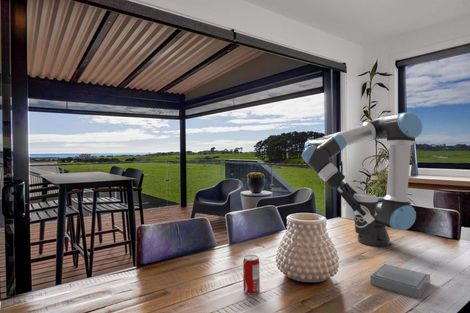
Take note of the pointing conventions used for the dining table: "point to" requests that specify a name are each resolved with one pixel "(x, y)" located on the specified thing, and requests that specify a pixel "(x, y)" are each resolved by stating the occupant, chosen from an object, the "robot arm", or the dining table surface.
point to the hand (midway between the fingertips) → (373, 218)
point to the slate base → (401, 280)
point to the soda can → (251, 274)
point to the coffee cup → (370, 206)
